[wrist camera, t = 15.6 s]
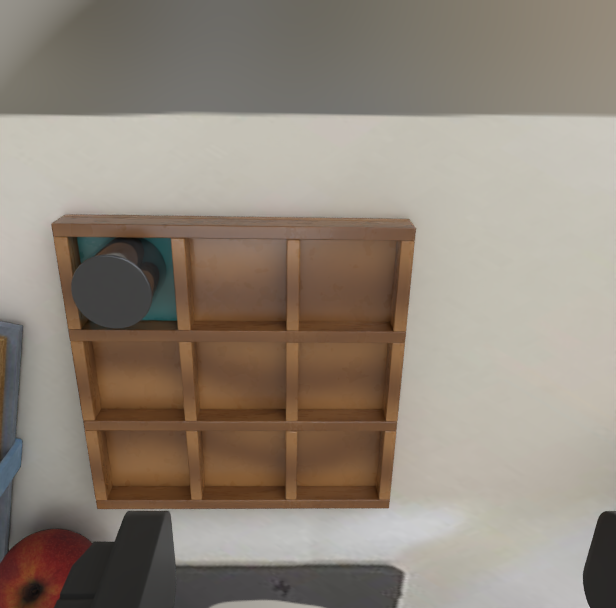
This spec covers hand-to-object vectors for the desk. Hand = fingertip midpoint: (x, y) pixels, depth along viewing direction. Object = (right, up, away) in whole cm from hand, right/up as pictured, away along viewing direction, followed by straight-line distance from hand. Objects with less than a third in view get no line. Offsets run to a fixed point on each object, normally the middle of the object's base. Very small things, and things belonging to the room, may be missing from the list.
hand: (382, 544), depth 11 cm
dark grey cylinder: (-12, +7, +24) cm, 28 cm away
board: (-6, 0, +28) cm, 29 cm away
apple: (-20, -14, +34) cm, 42 cm away
